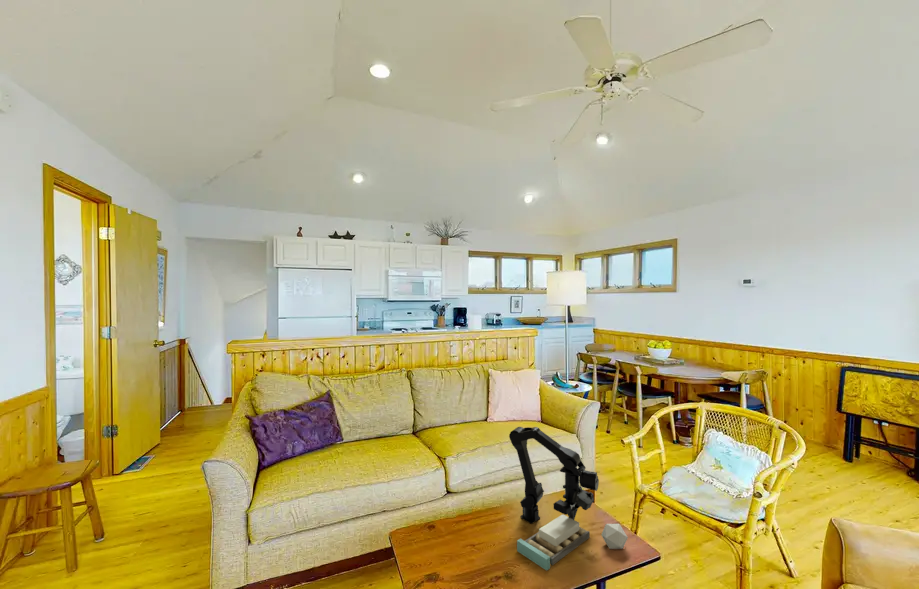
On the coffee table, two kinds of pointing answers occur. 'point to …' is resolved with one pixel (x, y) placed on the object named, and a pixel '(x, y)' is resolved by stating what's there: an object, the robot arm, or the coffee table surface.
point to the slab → (559, 530)
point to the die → (614, 536)
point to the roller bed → (558, 549)
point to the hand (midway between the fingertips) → (572, 521)
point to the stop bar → (533, 554)
